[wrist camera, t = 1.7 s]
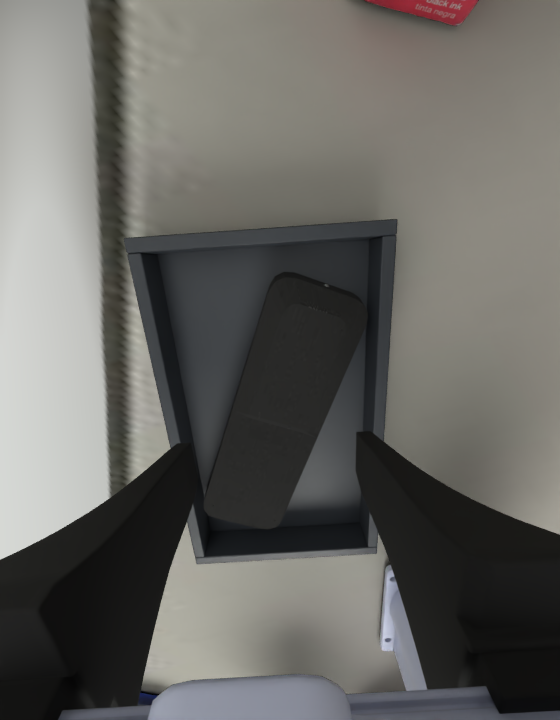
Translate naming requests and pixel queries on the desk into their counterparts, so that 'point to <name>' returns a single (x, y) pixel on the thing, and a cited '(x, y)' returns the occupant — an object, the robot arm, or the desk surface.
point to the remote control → (283, 397)
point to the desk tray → (228, 357)
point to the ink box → (432, 8)
